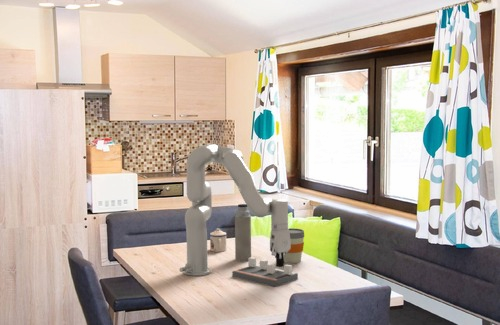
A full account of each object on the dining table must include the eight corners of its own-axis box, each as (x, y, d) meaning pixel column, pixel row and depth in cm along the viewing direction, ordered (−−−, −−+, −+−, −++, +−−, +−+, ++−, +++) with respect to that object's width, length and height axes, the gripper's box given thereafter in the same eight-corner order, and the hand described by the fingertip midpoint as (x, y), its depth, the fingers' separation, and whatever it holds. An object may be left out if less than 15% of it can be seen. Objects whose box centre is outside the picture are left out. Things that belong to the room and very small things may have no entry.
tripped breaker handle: (272, 273, 281) (271, 265, 280) (266, 272, 283) (266, 264, 282) (274, 272, 282) (274, 264, 282) (269, 271, 284) (269, 263, 284)
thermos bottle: (236, 257, 323) (235, 203, 321) (251, 257, 323) (251, 203, 320) (234, 261, 315) (233, 205, 313) (250, 261, 315) (249, 205, 312)
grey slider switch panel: (275, 286, 271) (275, 271, 270) (232, 276, 287) (232, 262, 287) (297, 278, 283) (297, 264, 282) (255, 269, 299) (255, 255, 299)
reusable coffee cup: (289, 256, 325) (288, 227, 324) (309, 259, 317) (309, 230, 316) (274, 260, 316) (274, 231, 314) (294, 264, 308) (294, 234, 306)
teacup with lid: (209, 248, 344) (208, 227, 343) (225, 247, 345) (225, 226, 344) (211, 253, 332) (211, 231, 331) (228, 252, 333) (228, 231, 332)
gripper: (275, 230, 278) (276, 271, 279) (296, 225, 289) (296, 264, 290) (262, 228, 282) (263, 268, 284) (283, 223, 294) (283, 262, 295)
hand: (280, 266), depth 287 cm, fingers closed
